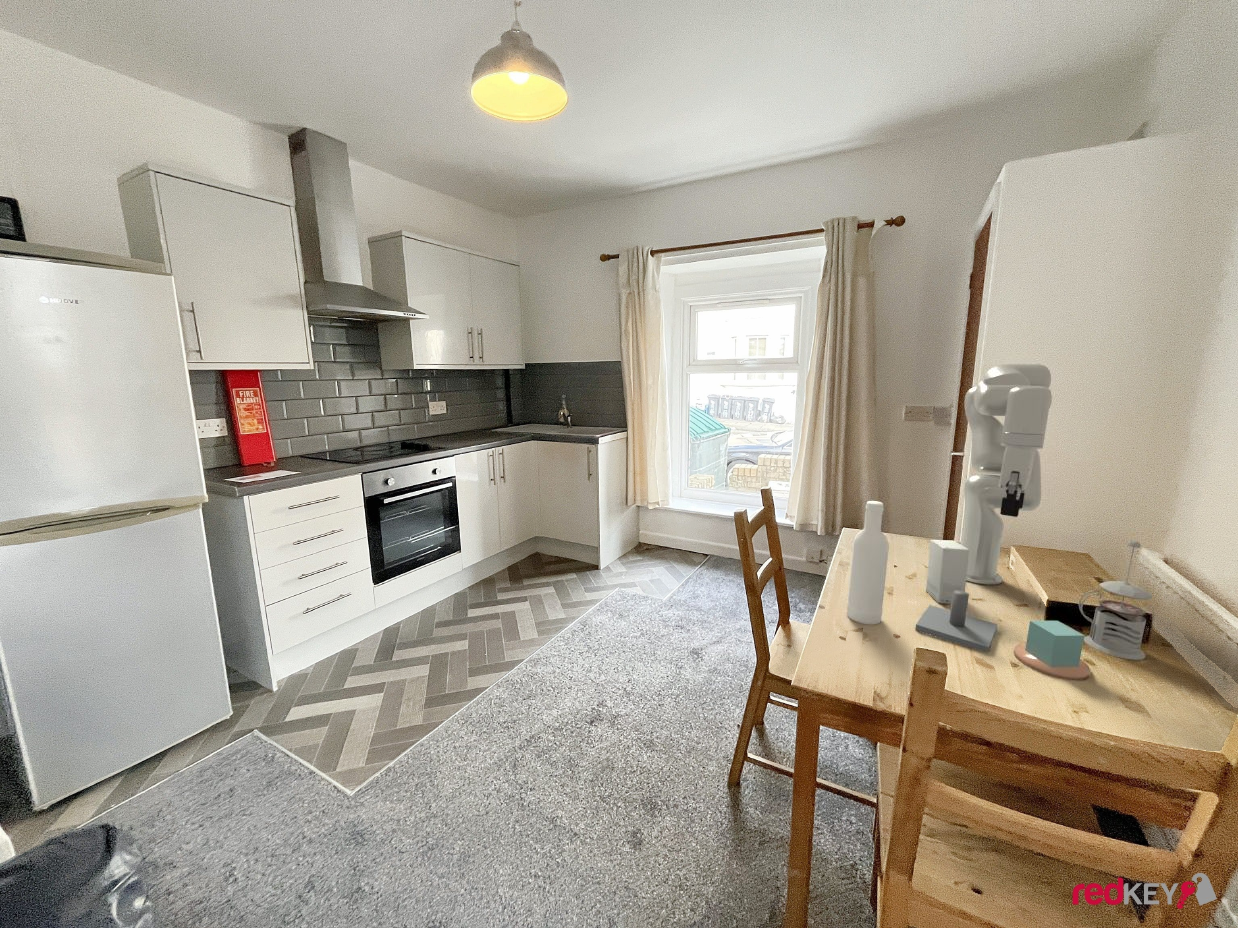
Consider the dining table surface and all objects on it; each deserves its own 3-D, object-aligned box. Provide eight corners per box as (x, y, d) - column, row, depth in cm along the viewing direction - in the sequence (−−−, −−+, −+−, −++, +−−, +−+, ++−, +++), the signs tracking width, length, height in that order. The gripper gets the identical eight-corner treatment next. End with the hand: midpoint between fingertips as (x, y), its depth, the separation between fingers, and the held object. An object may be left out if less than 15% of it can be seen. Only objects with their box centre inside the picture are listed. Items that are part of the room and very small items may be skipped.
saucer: (1016, 640, 109) (1017, 636, 109) (1089, 662, 101) (1090, 658, 101) (1010, 662, 101) (1011, 658, 101) (1089, 688, 93) (1090, 683, 93)
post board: (929, 610, 124) (933, 575, 122) (996, 629, 114) (1002, 592, 113) (915, 630, 114) (919, 593, 112) (987, 653, 104) (994, 613, 103)
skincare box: (963, 605, 126) (971, 550, 124) (936, 603, 128) (943, 548, 125) (949, 592, 134) (956, 539, 132) (923, 590, 136) (929, 538, 133)
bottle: (880, 613, 122) (892, 500, 117) (882, 627, 115) (895, 508, 110) (845, 607, 125) (856, 497, 120) (846, 620, 118) (857, 504, 113)
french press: (1153, 664, 100) (1178, 552, 96) (1079, 648, 106) (1099, 542, 102) (1136, 643, 109) (1158, 538, 104) (1068, 629, 115) (1086, 530, 110)
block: (1052, 650, 104) (1057, 620, 103) (1078, 666, 98) (1084, 635, 97) (1025, 650, 104) (1030, 620, 103) (1049, 666, 98) (1055, 635, 97)
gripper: (1006, 436, 119) (996, 502, 122) (996, 442, 107) (986, 515, 110) (1046, 438, 114) (1035, 507, 117) (1040, 445, 102) (1028, 522, 105)
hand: (1011, 511), depth 113 cm, fingers open, 9 cm apart
